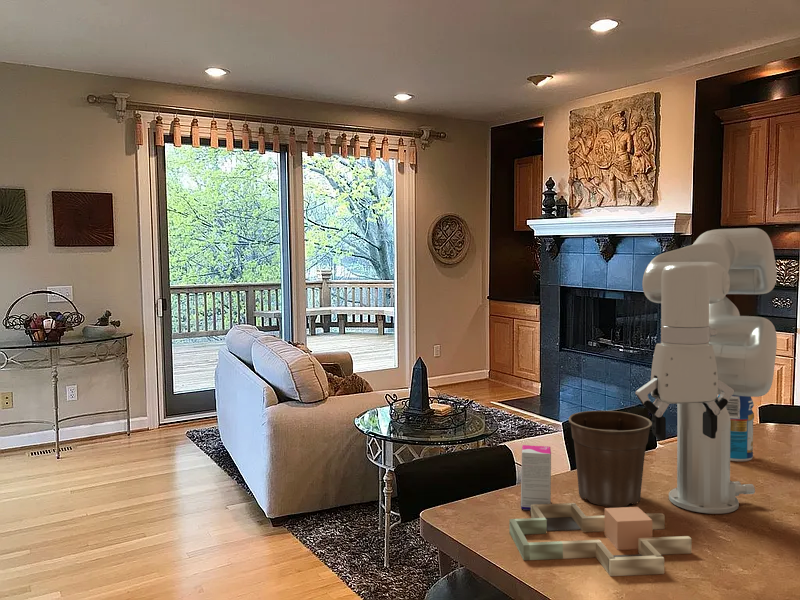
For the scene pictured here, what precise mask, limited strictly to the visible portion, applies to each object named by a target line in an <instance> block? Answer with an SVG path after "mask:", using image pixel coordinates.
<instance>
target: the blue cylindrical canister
mask: <svg viewBox="0 0 800 600" xmlns="http://www.w3.org/2000/svg"><path fill="white" fill-rule="evenodd" d="M719 396H720V395H717V397H719ZM754 406H755V405H754V400H753V398H752V397H747V396H735V395H732V396H731V398H730V399H729V400H728V404H727V405H726V406H725V407H726V409H727V411H728V413H729V415H730V421H731V427H730V462H749V461H751V460H753V458H754V451H753V450H754V419H755V413H754V411H753V408H754Z"/></svg>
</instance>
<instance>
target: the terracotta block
mask: <svg viewBox="0 0 800 600" xmlns="http://www.w3.org/2000/svg"><path fill="white" fill-rule="evenodd" d="M603 510H604V513H603V514H604V517H605V531H604V536H605V538H607V540H608V541H609V542H610V543H611V544H612V545H613V546H614V548H615V549H616V550H617V551H623V550H638V538H652V537H653V529H652V519H651V518H650V517H648V516H647V515H646V514H647V513H645V511H643V510H642V509H641V508H640V507H639V506H625V507H606V508H604V509H603Z"/></svg>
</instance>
